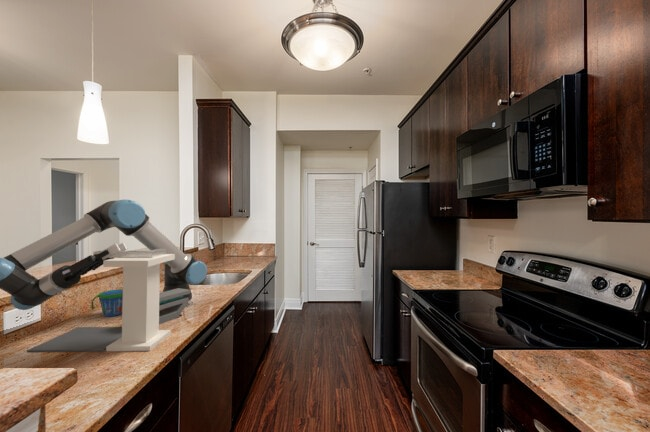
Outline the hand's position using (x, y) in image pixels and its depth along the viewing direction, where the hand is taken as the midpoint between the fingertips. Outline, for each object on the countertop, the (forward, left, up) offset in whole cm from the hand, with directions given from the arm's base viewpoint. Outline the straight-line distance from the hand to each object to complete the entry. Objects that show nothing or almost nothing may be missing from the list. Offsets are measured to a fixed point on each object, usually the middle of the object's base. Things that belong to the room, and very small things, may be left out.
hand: (121, 246), depth 101 cm
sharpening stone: (-20, -9, -34) cm, 40 cm away
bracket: (-4, 0, -4) cm, 5 cm away
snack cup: (-15, -35, -34) cm, 51 cm away
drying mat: (+4, -12, -34) cm, 36 cm away
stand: (-4, +6, -34) cm, 34 cm away
